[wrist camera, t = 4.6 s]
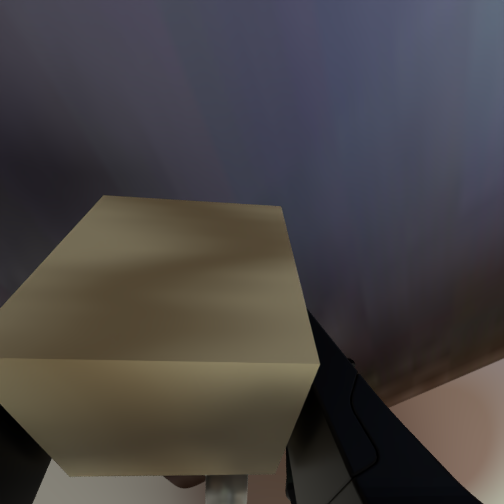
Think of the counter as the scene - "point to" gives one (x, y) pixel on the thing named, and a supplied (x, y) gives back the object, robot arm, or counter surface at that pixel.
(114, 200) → the beech block
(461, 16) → the counter surface
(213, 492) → the silver ribbed metal bottle
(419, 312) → the counter surface
